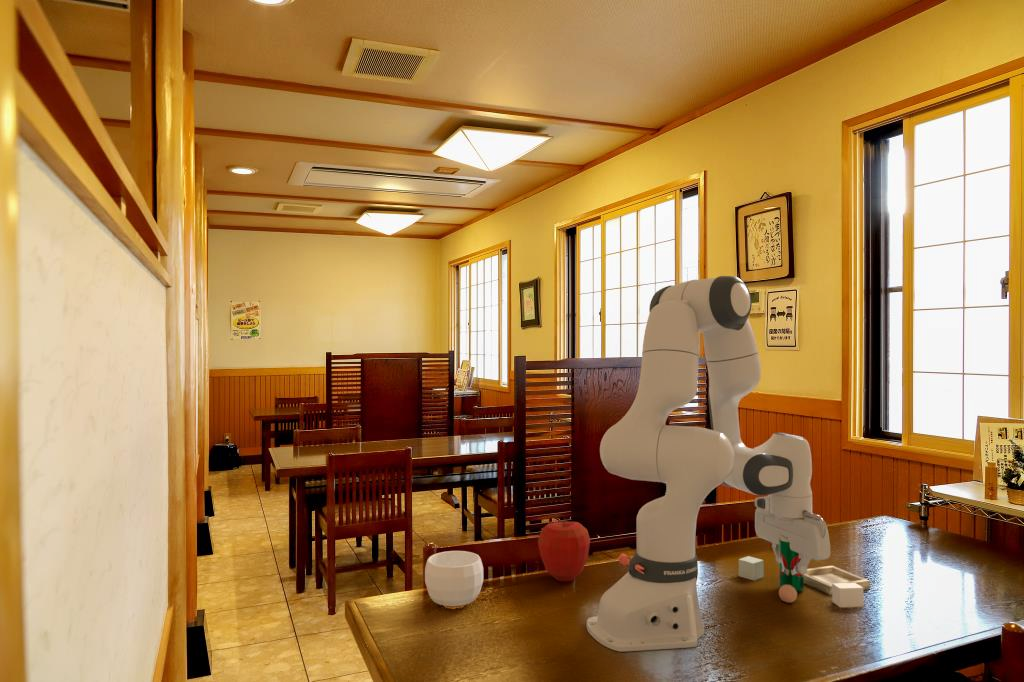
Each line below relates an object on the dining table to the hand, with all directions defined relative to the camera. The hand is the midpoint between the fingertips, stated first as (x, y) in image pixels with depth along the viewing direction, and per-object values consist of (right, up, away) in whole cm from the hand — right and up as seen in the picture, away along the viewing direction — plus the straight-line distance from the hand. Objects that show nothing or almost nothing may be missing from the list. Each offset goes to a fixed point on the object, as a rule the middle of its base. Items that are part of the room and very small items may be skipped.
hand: (791, 568), depth 152 cm
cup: (-74, -5, -7) cm, 75 cm away
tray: (+10, -5, +3) cm, 12 cm away
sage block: (-6, -5, +9) cm, 11 cm away
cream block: (+8, -5, -9) cm, 13 cm away
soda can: (0, -5, 0) cm, 5 cm away
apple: (-50, -5, +8) cm, 51 cm away
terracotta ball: (-4, -3, -8) cm, 9 cm away
